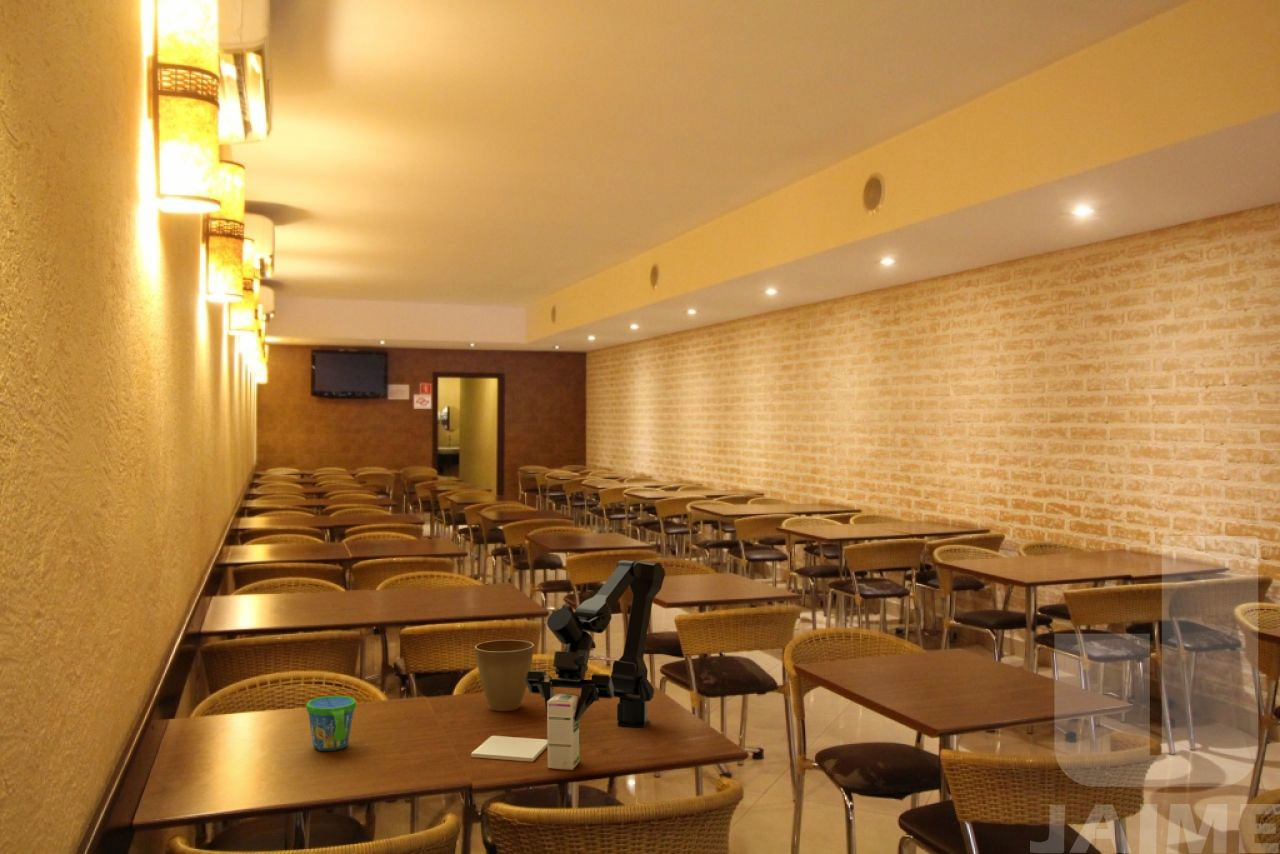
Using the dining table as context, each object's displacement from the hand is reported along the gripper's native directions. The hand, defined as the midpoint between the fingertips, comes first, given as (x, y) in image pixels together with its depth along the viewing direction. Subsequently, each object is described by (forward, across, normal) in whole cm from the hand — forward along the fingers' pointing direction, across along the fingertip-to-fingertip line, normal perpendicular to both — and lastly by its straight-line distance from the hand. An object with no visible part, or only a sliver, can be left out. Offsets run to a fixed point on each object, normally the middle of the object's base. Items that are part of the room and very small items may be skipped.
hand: (561, 719), depth 218 cm
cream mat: (+1, -14, +13) cm, 19 cm away
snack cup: (+6, -54, +8) cm, 55 cm away
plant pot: (-21, -27, +36) cm, 50 cm away
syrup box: (+6, 0, +8) cm, 10 cm away
